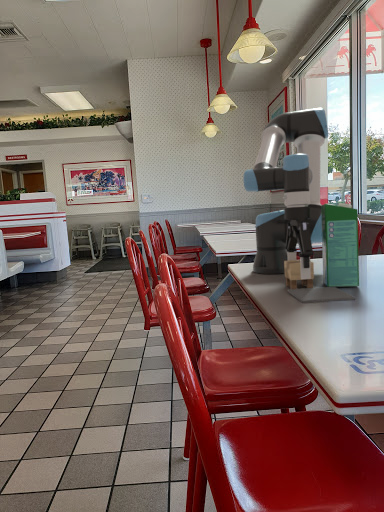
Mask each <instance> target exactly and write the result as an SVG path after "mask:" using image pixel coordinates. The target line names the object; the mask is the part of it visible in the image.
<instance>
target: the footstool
mask: <svg viewBox="0 0 384 512" xmlns="http://www.w3.org/2000/svg"><path fill="white" fill-rule="evenodd" d="M314 263H315V262H313V261H311V260H310V268H311V279H301V268H300V259H296V260H290V261H284V268H285V273H284V277H285V286H286V287H290V289H298V281H300V282H301V283H300V284H301V286H306V287H305V288H314V279H315V277H314V275H315V274H314V273H315V271H314V267H315V266H314Z"/></svg>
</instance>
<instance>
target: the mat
mask: <svg viewBox="0 0 384 512" xmlns="http://www.w3.org/2000/svg"><path fill="white" fill-rule="evenodd" d="M287 292H288V293H289V295H290V294H291V295H292V296H293V297H294V298H296V299H297V300H298V301H299V302H300V303H302V304H307V303H319V302H320V303H321V302H323V303H324V302H338V301H348V300H349V301H350V300H351V301H352V300H356V296H354V295H352V294H349V293H348V292H346V291H344V290H342V289H339V288H338V287H337V286H336V287H327V286H321V287H319V286H317V287H313V288H306V287H305V288H297V289H289V288H288V289H287Z"/></svg>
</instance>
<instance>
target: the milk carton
mask: <svg viewBox="0 0 384 512" xmlns="http://www.w3.org/2000/svg"><path fill="white" fill-rule="evenodd" d="M321 205H322V206H321V217H322V242H321V245H322V247H321V248H322V249H321V250H322V251H321V252H322V278H323V279H322V281H323V284H324V285H325V287H336V288H337V287H359V286H360V268H359V267H360V266H359V265H360V263H359V261H360V259H359V221H358V220H359V215H358V213H359V212H358V211H359V210H358V208H353V207H352V206H353V205H351V204H350V203H349V204H348V203H342V202H339V203H338V205H336V204H331V203H324V204H321Z"/></svg>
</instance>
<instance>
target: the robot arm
mask: <svg viewBox="0 0 384 512" xmlns="http://www.w3.org/2000/svg"><path fill="white" fill-rule="evenodd" d="M328 129H329V128H328V121H327V115H326V110H325V109H324V108H323V107H317V108H316V107H315V108H314V107H312V108H308V109H302V110H294V111H287V112H283V113H280V114H278V115H277V116H274V118H272V119H271V120H270V121H269V122H268V123H267V124H266V125H265V127H264V128H263V130H262V133H261V134H260V135H261V136H260V139H261V144H260V147H259V150H258V153H257V156H256V160H255V163H254V166H253V168H250V169H246V170H245V171H244V172H243V179H242V181H243V187H244V190H246V192H249V193H251V192H252V193H253V192H256V193H258V192H267V191H281V190H283V193H284V194H283V196H282V199H283V200H284V202H283V203H284V206H285V208H284V209H282V210H275V211H271V212H266V213H261V214H258V215H257V216H256V217H255V226H254V227H255V241H256V254H255V257H254V261H253V264H252V272H254V273H255V274H262V275H278V274H285V268H284V261H290V260H297V252H298V249H297V246H298V248H299V251H300V254H299V256H298V257H299V260H300V268H301V279H311V268H310V261H311V257H312V256H313V255H314V250H313V244H322V217H321V206H322V205H323V204H321V147H322V146H323V145H324V144H325V140H326V139H327V138H328V137H329V130H328ZM286 143H293V146H294V147H295V148H297V151H296V152H297V153H294V154H289V155H285V156H284V157H283V159H282V161H283V162H282V163H283V164H282V165H283V166H277V165H278V160H279V157H280V152H281V148H282V147H283V145H284V144H286ZM297 244H298V245H297Z"/></svg>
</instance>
